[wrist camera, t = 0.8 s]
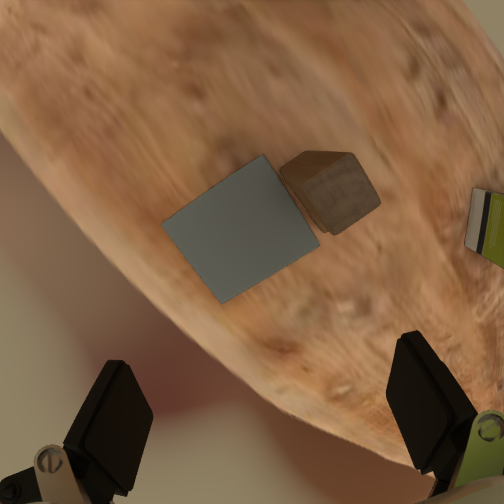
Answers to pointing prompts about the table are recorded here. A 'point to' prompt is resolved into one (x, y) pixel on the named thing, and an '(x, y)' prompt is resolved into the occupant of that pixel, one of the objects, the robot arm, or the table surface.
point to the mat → (241, 230)
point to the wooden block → (331, 188)
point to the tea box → (486, 225)
